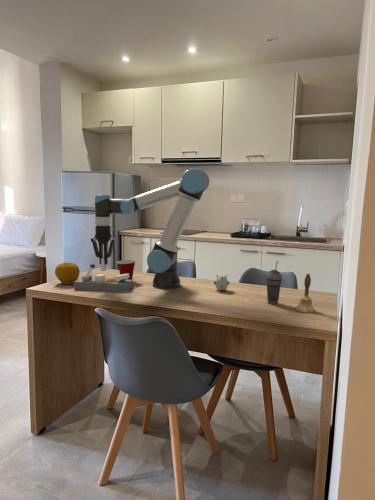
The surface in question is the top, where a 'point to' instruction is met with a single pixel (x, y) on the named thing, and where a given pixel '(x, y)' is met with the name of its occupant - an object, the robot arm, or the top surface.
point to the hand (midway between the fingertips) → (103, 270)
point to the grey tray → (103, 285)
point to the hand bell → (306, 298)
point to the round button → (111, 279)
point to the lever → (90, 271)
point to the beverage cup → (273, 286)
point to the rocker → (122, 276)
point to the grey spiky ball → (221, 283)
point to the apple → (67, 273)
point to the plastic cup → (126, 267)
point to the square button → (100, 278)
